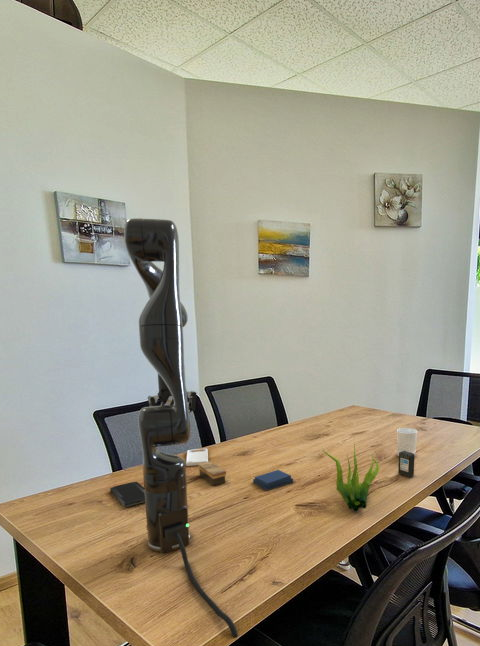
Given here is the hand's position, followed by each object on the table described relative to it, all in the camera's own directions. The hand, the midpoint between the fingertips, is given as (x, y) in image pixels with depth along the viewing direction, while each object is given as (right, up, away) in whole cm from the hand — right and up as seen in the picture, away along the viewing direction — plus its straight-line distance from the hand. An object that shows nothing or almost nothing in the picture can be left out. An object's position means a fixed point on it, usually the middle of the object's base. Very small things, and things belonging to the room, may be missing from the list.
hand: (174, 427), depth 131 cm
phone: (-12, -20, -3) cm, 24 cm away
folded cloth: (+29, -19, +8) cm, 35 cm away
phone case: (-3, -15, +29) cm, 33 cm away
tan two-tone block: (+8, -18, +10) cm, 22 cm away
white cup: (+76, -15, +34) cm, 84 cm away
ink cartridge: (+73, -18, +15) cm, 76 cm away
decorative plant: (+52, -20, +2) cm, 56 cm away
